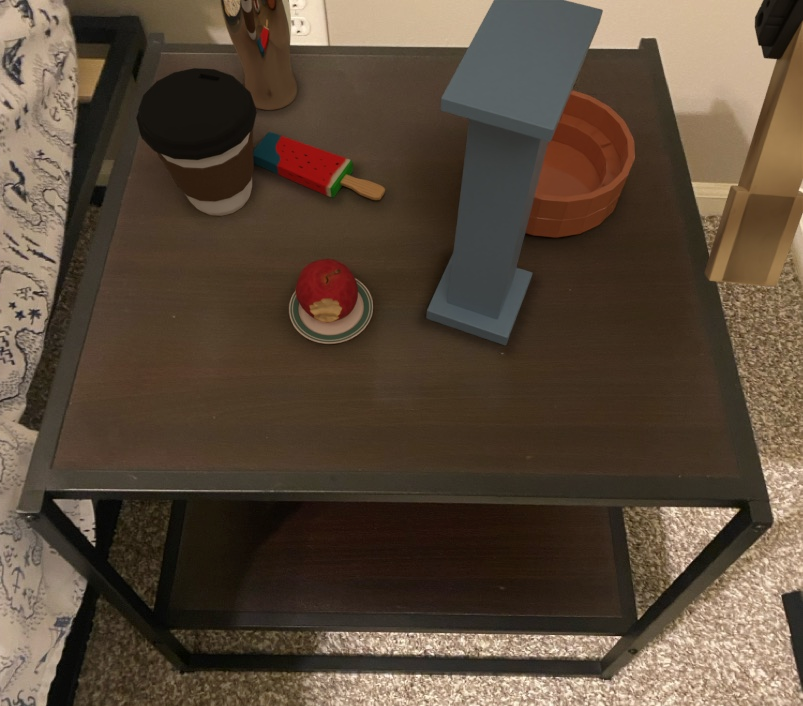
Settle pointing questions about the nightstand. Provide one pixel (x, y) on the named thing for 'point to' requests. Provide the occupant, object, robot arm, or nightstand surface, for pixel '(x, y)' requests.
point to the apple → (329, 303)
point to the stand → (506, 152)
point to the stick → (766, 185)
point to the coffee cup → (202, 136)
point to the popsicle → (311, 167)
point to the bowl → (581, 169)
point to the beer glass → (263, 48)
